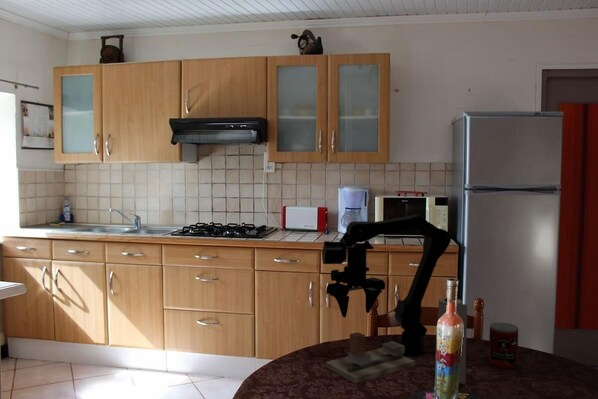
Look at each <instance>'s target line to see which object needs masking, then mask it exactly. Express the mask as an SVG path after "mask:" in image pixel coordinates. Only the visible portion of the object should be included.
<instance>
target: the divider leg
mask: <svg viewBox="0 0 598 399" xmlns="http://www.w3.org/2000/svg"><path fill="white" fill-rule="evenodd" d="M365 343H366V335H365V334H364V333H361V332H354V333H349V347H348V348H349V351H348V352H347V357H348V360H349V361H351V362H353V363H355V365H359V366H360V365H364V364H368V363H371V355H370V354H368V353H366V352H367V351H366V350H365V349H366V344H365Z"/></svg>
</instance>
